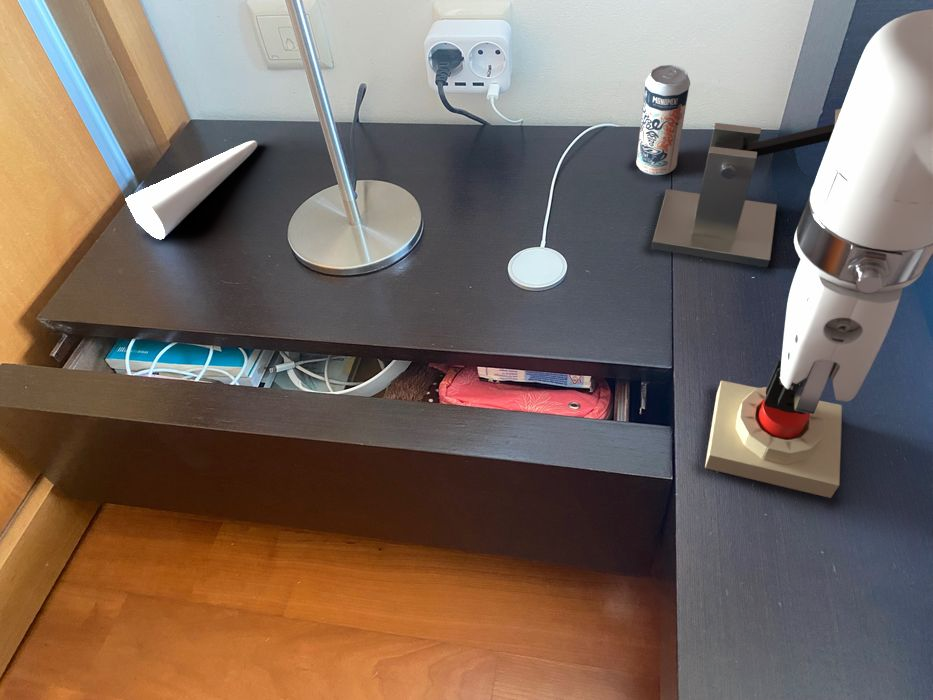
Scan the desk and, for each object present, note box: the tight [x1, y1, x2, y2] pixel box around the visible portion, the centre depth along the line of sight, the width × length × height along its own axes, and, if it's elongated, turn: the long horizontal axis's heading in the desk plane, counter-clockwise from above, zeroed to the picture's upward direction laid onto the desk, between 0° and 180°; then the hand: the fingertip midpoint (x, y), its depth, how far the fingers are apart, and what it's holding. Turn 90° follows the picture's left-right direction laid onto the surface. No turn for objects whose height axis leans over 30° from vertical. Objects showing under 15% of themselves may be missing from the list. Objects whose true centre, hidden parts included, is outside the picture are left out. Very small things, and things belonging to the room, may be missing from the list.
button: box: [758, 399, 810, 439], centre depth 59 cm, size 4×4×2 cm
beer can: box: [635, 64, 691, 176], centre depth 83 cm, size 5×5×12 cm
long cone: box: [125, 140, 258, 240], centre depth 90 cm, size 6×6×19 cm
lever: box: [715, 108, 842, 157], centre depth 69 cm, size 12×5×2 cm, turn 71°
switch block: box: [704, 380, 843, 499], centre depth 61 cm, size 10×8×4 cm
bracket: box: [651, 122, 778, 269], centre depth 75 cm, size 12×9×12 cm
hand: (785, 402), depth 58 cm, fingers closed
